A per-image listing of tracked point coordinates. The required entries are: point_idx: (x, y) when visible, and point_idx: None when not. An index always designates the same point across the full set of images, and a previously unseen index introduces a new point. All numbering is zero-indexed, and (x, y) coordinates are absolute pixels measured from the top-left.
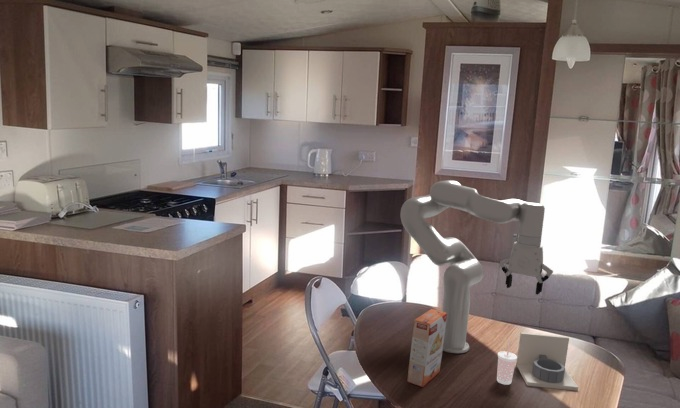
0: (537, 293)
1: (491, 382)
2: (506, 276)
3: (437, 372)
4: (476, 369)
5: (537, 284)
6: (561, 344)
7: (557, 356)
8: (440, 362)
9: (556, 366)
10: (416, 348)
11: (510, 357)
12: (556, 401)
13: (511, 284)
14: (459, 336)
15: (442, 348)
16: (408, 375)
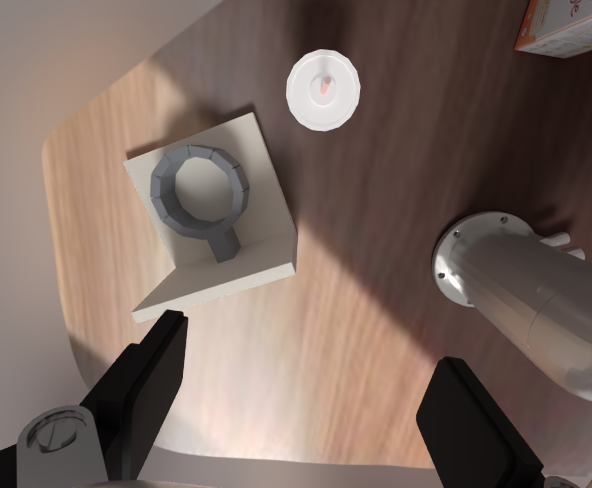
0: (165, 313)
1: None
2: (544, 479)
3: (526, 20)
4: (401, 141)
5: (128, 383)
6: (163, 293)
7: (185, 273)
8: (540, 31)
9: (182, 220)
10: None
11: (310, 79)
12: (165, 52)
13: (421, 430)
14: (489, 246)
15: (583, 14)
16: None
